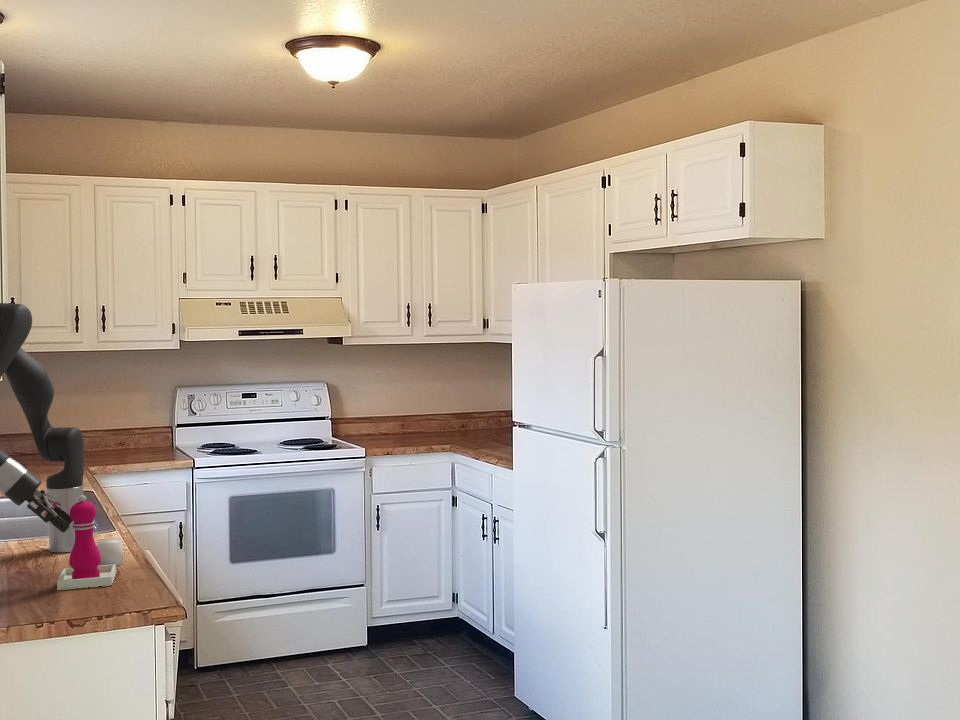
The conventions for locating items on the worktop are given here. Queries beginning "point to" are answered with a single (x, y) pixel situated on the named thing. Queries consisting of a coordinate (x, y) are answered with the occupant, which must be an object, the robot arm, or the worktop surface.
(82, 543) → the pepper mill
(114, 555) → the grey rounded block
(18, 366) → the robot arm
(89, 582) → the tray
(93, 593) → the worktop surface
